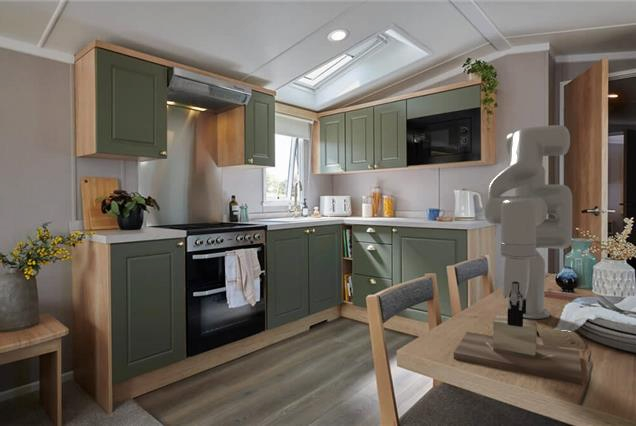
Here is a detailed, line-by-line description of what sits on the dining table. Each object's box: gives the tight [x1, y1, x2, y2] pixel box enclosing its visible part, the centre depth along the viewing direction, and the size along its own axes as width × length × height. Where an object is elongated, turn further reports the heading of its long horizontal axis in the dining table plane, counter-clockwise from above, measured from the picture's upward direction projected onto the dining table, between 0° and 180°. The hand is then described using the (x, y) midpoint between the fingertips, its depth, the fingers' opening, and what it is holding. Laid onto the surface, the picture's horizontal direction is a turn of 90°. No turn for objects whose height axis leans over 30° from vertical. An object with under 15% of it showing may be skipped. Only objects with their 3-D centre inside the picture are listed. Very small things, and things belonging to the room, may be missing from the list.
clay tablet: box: [537, 327, 587, 350], centre depth 106 cm, size 14×10×3 cm
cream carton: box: [492, 315, 538, 359], centre depth 95 cm, size 5×9×8 cm, turn 58°
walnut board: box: [453, 331, 583, 386], centre depth 95 cm, size 16×26×2 cm, turn 58°
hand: (517, 319), depth 95 cm, fingers open, 9 cm apart
